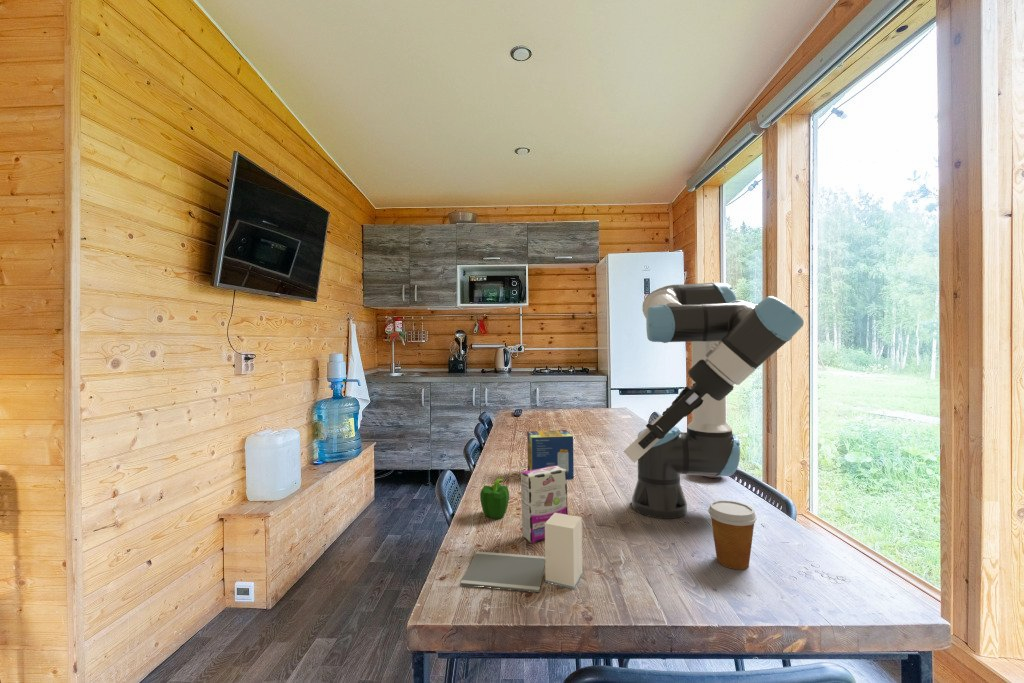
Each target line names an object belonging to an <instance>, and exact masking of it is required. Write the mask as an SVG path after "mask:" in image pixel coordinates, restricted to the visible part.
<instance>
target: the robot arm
mask: <svg viewBox="0 0 1024 683" xmlns="http://www.w3.org/2000/svg"><path fill="white" fill-rule="evenodd" d="M642 313H643V315H644V318H645V320H646V324H645V326H646V336H647V340H648V341H649V342H652V343H662V344H668V343H682V342H683V343H685V342H687V343H688V342H689V343H691V368H690V369H689V370H688V373H687V374H688V376H689V377H690V379H691V382H692V383H691V386H690V387H689V386H688V385H686V386H685V387H684V388H683V389H682V390H681V391H680V392H679V394H678V395H677V396H676V398H675V399H674V400H673V401H672V402H671V405H670V406H669V407H667V408H666V409H665V410H664V411H663V412H662V414H660V415H659V416H658V417H657V418H655V419H654V420H653V421H652V422H651V423H650V422H648V423H647V424H646V425H645V427H646V428H643V429H642V430H640V431H639V432H638V433H637V438H635V440H634V441H633V442H632V443H630V444H629V445H628V446H627V447H626V448H625V449H624V450H623V451H622V452H623V453H624V454H625V455H626V456H627V457H628V458H629V459H630V460H631V461H632V463H636V462H637V481H636V484H635V488H634V490H633V494H632V497H631V507H632V509H634V510H635V511H636V512H638V514H639V513H640V514H642V515H643V516H647V517H651V518H652V517H653V518H657V519H677V518H680V517H684V516H685V515H687V513H688V503H687V500H686V498H685V494H684V490H683V489H682V485H681V475H690V476H691V475H692V476H693V475H694V476H703V475H707V476H714V477H716V478H719V477H730V476H733V475H734V474H735V473H736V471H737V469H738V467H739V463H740V459H741V458H740V457H741V456H740V455H741V447H740V444H741V443H740V439H739V436H737V434H734V433H733V428H732V427H731V426H730V425H729V424H728V423H727V413H726V412H727V405H726V404H727V402H726V400H727V398H726V397H727V396H728V395H729V394H730V393H731V392H732V391H733V390H734V388H735V387H734V385H736V386H737V385H738V386H740V385H741V384H742V383H743V382H744V381H745V380H747V378H749V376H751V375H752V374H753V373H754V372H755V371H756V369H758V367H760V366H761V365H762V364H763V363H764V362H766V361H767V359H769V358H770V357H772V356H773V355H774V354H775V353H776V352H777V351H778V350H780V348H782V347H783V346H784V345H785V344H786V343H787V342H789V341H791V340H792V338H793V337H794V335H796V334H797V333H798V331H800V330H801V328H803V326H804V323H805V322H804V319H803V317H802V316H801V315H800V314H799V313H798V312H796V310H794V309H793V308H792V307H790V306H789V305H788V304H786V302H783V300H781V299H779V298H777V297H776V296H773V295H770V296H767V297H764V298H763V299H762V300H761V301H760V302H758V303H754V301H750V300H746V299H745V300H743V299H737V296H736V293H735V291H734V289H733V287H732V286H731V285H730V284H728V283H725V282H706V283H705V282H703V283H687V284H685V283H684V284H671V285H666V286H663V287H660V288H657V289H655V290H653V291H652V292H650V293H649V294H647V295H646V296H645V298H644V300H643V302H642ZM691 413H692V420H691V421H690V422H689V424H687V426H686V432H681V431H680V428H679V427H678V426H677V424H678V423H679V422H680V421H682V419H683V418H685V417H688V416H689V415H690V414H691ZM718 476H719V477H718Z"/></svg>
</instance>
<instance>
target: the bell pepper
mask: <svg viewBox="0 0 1024 683" xmlns="http://www.w3.org/2000/svg"><path fill="white" fill-rule="evenodd" d="M503 480H504V479H503V478H497V479H496V480H495V481H494V483H493V485H491V486H490V485H484V486H483V487H482V488H481V491H480V493H479V498H480V504H481V508H482V511H483V515H484V516H485V517H486V518H491V519H494V520H496V519H497V520H499V519H501V518H504V516H505V515H506V512H507V510H508V505H509V501H510V491H509V488H508V486H507V485H502V484H500V483H502V482H503Z"/></svg>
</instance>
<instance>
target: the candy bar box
mask: <svg viewBox="0 0 1024 683" xmlns="http://www.w3.org/2000/svg"><path fill="white" fill-rule="evenodd" d="M567 481H568V479H567V473H566V469H564V468H561V467H559V466H551V467H546V468H540V469H535V470H530V471H528V470H526V471H525V470H524V471H521V472H520V494H521V495H520V496H521V520H522V521H521V526H522V527H521V531H522V532H521V533H522V537H523V538H524V539H525V538H526V540H527V542H529V543H530V544H535V543H539V542H542V540H543V541H545V523H546V522H547V520H548V519H549V518H550V517H551V516H552V515H553V514H554V513H560V514H566V515H569V514H568V512H569V511H568V486H567V484H568V482H567ZM538 541H539V542H538Z"/></svg>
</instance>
